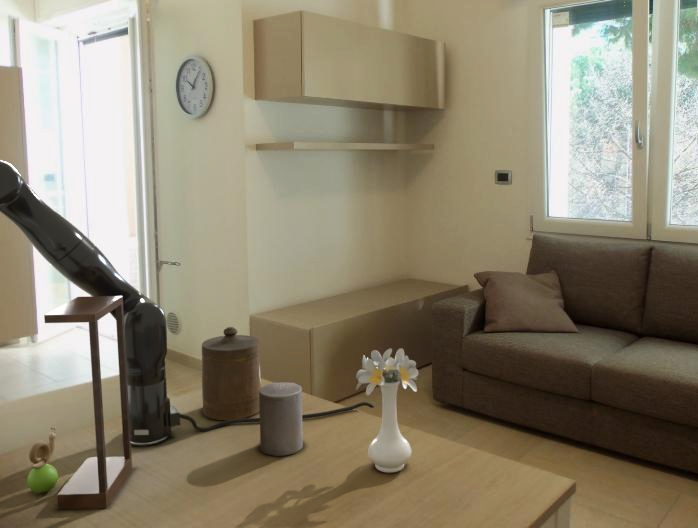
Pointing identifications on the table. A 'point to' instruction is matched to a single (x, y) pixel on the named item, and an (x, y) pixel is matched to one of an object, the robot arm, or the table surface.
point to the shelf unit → (97, 409)
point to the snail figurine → (42, 466)
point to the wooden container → (230, 376)
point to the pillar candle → (280, 418)
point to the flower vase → (388, 406)
